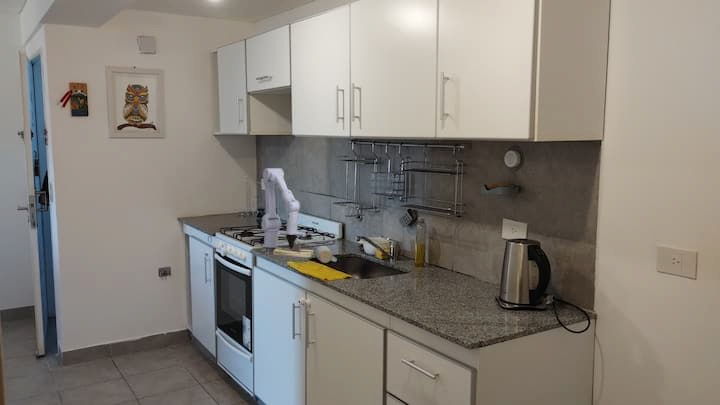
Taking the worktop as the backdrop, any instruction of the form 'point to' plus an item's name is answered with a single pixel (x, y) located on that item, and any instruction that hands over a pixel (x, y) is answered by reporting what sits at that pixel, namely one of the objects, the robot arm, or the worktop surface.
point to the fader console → (292, 252)
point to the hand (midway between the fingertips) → (291, 248)
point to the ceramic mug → (324, 254)
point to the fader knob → (296, 246)
